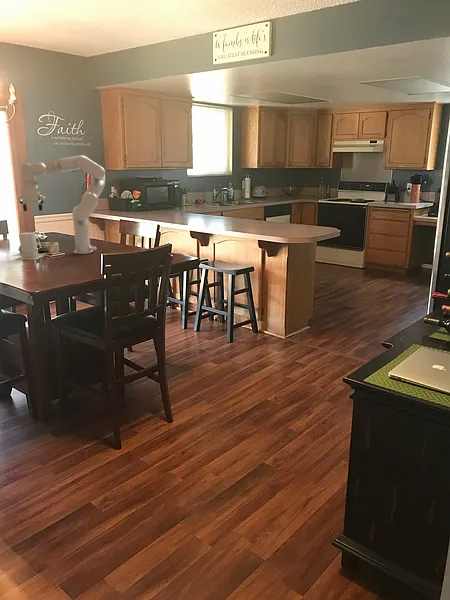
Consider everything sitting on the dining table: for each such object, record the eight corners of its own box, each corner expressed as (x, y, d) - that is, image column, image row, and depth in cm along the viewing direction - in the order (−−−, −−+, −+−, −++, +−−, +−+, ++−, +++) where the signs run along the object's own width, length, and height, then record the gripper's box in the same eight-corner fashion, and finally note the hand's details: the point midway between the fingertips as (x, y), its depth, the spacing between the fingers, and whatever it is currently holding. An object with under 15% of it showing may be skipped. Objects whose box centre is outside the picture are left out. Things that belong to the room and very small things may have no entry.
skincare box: (38, 256, 325) (36, 232, 321) (34, 258, 319) (31, 233, 314) (26, 255, 325) (23, 232, 321) (21, 257, 319) (18, 233, 315)
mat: (44, 255, 327) (44, 255, 327) (37, 259, 316) (37, 258, 316) (23, 255, 328) (23, 255, 328) (15, 259, 316) (15, 258, 316)
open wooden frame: (58, 251, 344) (58, 242, 342) (51, 255, 330) (50, 246, 328) (29, 251, 344) (28, 242, 343) (20, 254, 331) (19, 246, 329)
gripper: (45, 183, 319) (48, 209, 324) (18, 183, 319) (22, 210, 324) (40, 183, 312) (44, 211, 317) (13, 184, 312) (17, 212, 317)
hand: (33, 210), depth 321 cm, fingers open, 9 cm apart
